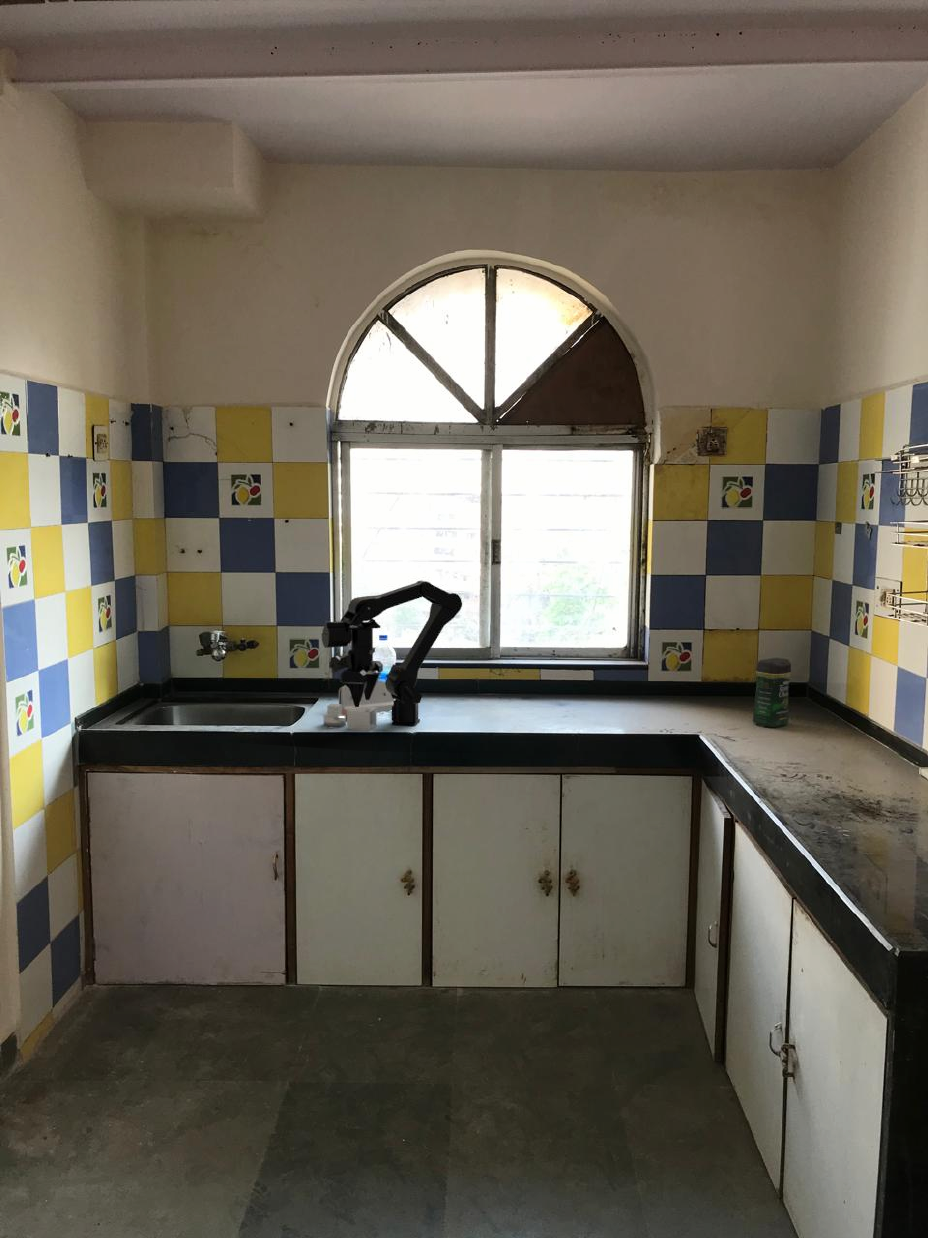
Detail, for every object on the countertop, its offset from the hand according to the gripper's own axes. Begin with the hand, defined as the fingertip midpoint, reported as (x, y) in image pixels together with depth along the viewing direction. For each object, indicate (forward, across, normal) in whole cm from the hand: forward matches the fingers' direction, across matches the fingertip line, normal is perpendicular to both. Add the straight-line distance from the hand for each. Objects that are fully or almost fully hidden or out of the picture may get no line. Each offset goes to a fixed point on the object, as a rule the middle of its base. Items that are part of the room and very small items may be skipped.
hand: (362, 703), depth 258 cm
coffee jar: (+7, -32, +108) cm, 113 cm away
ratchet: (+7, -4, -8) cm, 11 cm away
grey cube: (+7, 0, 0) cm, 7 cm away
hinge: (+7, -21, -6) cm, 23 cm away
